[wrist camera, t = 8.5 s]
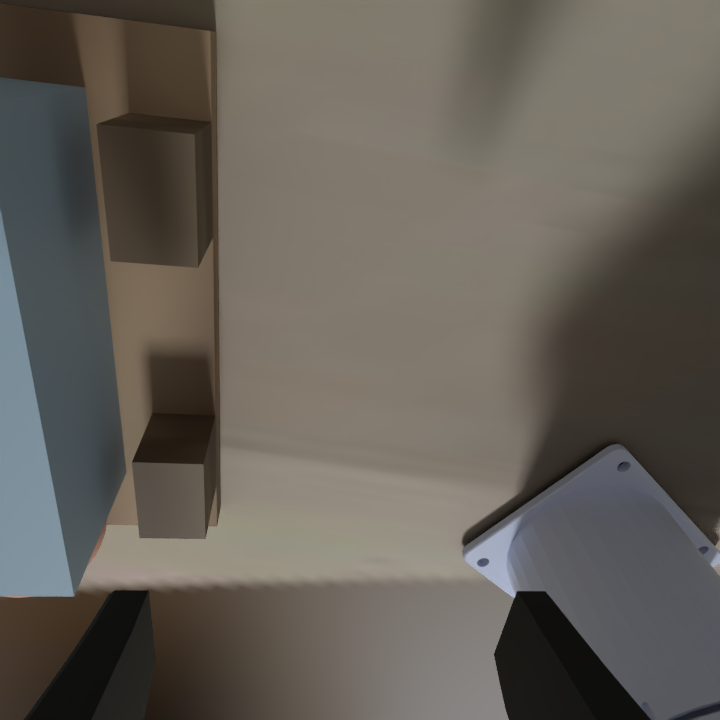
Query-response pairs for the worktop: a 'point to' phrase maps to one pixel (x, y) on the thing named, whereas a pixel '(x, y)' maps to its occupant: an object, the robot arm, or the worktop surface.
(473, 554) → the robot arm
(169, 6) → the worktop surface
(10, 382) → the pale blue rectangular prism
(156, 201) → the cradle jig
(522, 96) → the worktop surface
